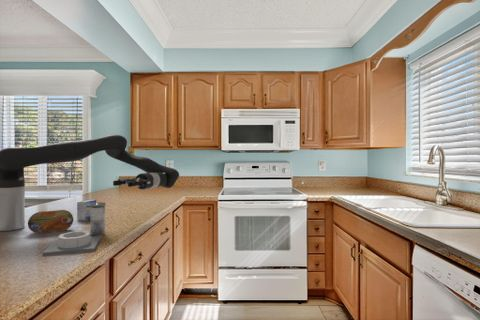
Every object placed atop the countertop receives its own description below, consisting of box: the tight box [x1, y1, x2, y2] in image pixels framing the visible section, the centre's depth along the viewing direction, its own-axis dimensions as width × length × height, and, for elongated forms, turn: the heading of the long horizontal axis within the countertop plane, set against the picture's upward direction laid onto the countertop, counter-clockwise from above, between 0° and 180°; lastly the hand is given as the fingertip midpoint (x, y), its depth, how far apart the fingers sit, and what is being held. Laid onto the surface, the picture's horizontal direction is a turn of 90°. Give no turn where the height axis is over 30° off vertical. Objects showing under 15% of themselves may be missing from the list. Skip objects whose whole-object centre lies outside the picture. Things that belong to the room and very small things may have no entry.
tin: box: [27, 209, 74, 234], centre depth 112 cm, size 15×3×8 cm, turn 118°
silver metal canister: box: [89, 201, 106, 237], centre depth 109 cm, size 5×5×12 cm
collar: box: [42, 230, 102, 257], centre depth 94 cm, size 14×14×4 cm
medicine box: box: [76, 199, 98, 221], centre depth 135 cm, size 8×4×9 cm, turn 168°
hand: (121, 183), depth 119 cm, fingers open, 8 cm apart
